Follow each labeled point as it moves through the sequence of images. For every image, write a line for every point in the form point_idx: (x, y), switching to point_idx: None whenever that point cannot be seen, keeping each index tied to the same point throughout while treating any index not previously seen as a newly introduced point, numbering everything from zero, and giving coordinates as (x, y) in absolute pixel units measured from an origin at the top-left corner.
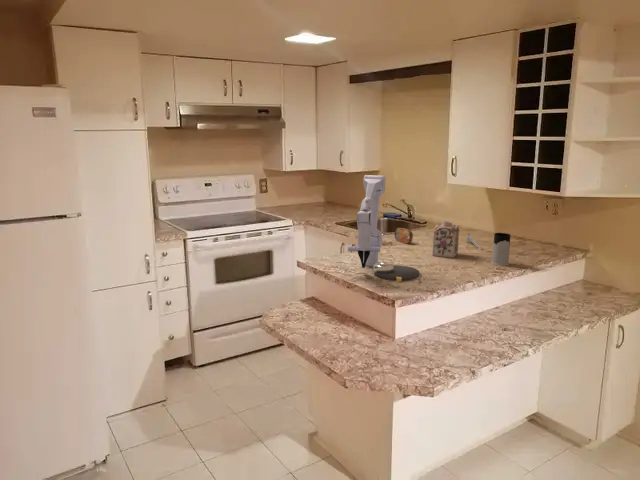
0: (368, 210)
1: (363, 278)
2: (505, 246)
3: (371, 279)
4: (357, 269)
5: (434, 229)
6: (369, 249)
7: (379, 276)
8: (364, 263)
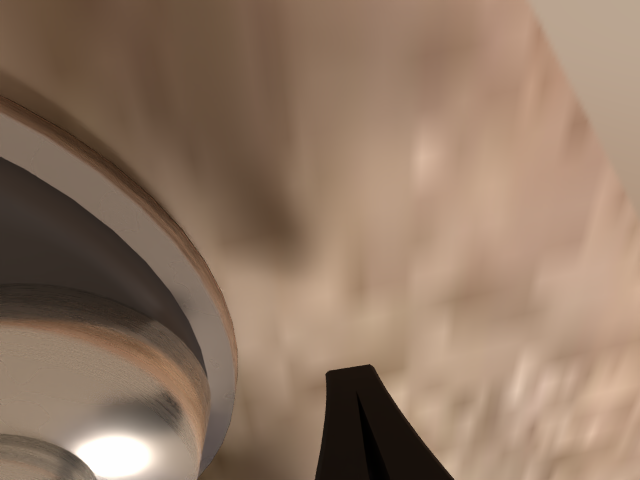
0: None
1: (321, 219)
2: None
3: (213, 198)
4: None
5: None
6: None
7: (71, 208)
8: (348, 427)
